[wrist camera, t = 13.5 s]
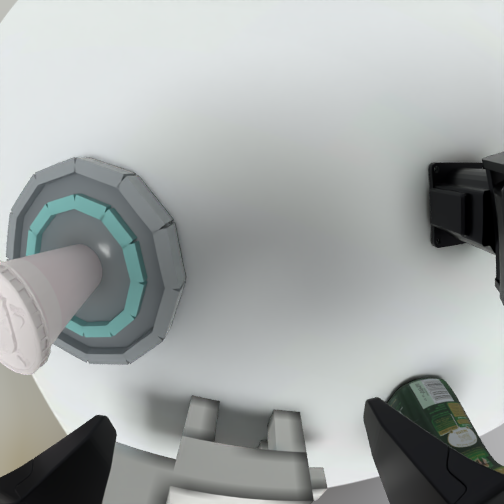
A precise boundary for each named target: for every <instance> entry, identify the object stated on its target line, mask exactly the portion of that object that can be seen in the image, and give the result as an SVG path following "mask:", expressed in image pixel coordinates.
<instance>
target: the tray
mask: <svg viewBox="0 0 504 504" xmlns="http://www.w3.org/2000/svg"><path fill="white" fill-rule="evenodd" d="M11 211H12V212H11V213H10V216H9V225H8V235H7V249H6V257H7V258H9V259H7V261H9V260H13V259H18V258H22V257H25V256H29V255H34V254H38V253H42V252H46V251H50V250H54V249H58V248H63V247H67V246H71V245H76V244H83V245H86V246H88V247H89V248H91V249H92V250H93V251H94V252H95V253H96V255H97V256H98V258H99V260H100V262H101V266H102V279H101V282H100V283H99V285H98V286H97V287H96V289H95V290H94V291H93V292H92V293H91V295H90V296H89V297H88V298H87V300H86V301H85V302H84V303H83V305H82V306H81V307H80V308H79V310H78V311H77V312H76V313H75V315H74V316H73V317H72V319H71V320H70V321H69V322H68V324H67V325H66V326H65V328H64V329H63V330H62V332H61V333H60V334H59V336H58V337H57V339H56V340H55V341H54V343H53V344H54V345H56V346H58V347H59V348H61V349H63V350H64V351H66V352H68V353H70V354H72V355H73V356H75V357H77V358H79V359H81V360H82V361H84V362H86V363H87V361H88V362H89V363H90V364H127V365H128V363H130V364H131V363H132V362H134V361H135V360H137V359H138V358H140V357H141V356H142V355H144V354H145V353H147V352H148V351H150V350H151V349H153V348H154V347H155V346H157V345H158V344H160V343H161V342H163V340H164V339H165V337H166V335H167V333H168V331H169V329H170V327H171V325H172V322H173V319H174V316H175V313H176V310H177V306H178V303H179V300H180V297H181V294H182V291H183V288H184V285H185V282H186V281H184V280H185V279H186V275H185V271H184V266H183V261H182V257H181V252H180V247H179V242H178V237H177V231H176V226H175V223H171V221H172V220H173V218H172V217H171V216H170V215H169V213H168V212H167V211H166V210H165V208H164V207H163V206H162V205H161V203H160V202H159V201H158V200H157V198H156V197H155V196H154V195H153V193H152V192H151V191H150V190H149V188H148V187H147V186H146V185H145V183H144V182H143V181H142V179H141V178H140V177H139V176H135V173H133V172H130V171H128V170H125V169H122V168H119V167H116V166H113V165H110V164H108V163H105V162H102V161H99V160H96V159H93V158H78V157H77V158H71V159H69V160H66V161H63V162H61V163H58V164H55V165H53V166H50V167H48V168H45V169H43V170H40V171H38V172H36V173H35V174H33V176H32V177H31V178H30V180H29V181H28V183H27V185H26V186H25V188H24V189H23V191H22V192H21V194H20V196H19V197H18V199H17V200H16V202H15V204H14V205H13V207H12V209H11Z"/></svg>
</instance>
